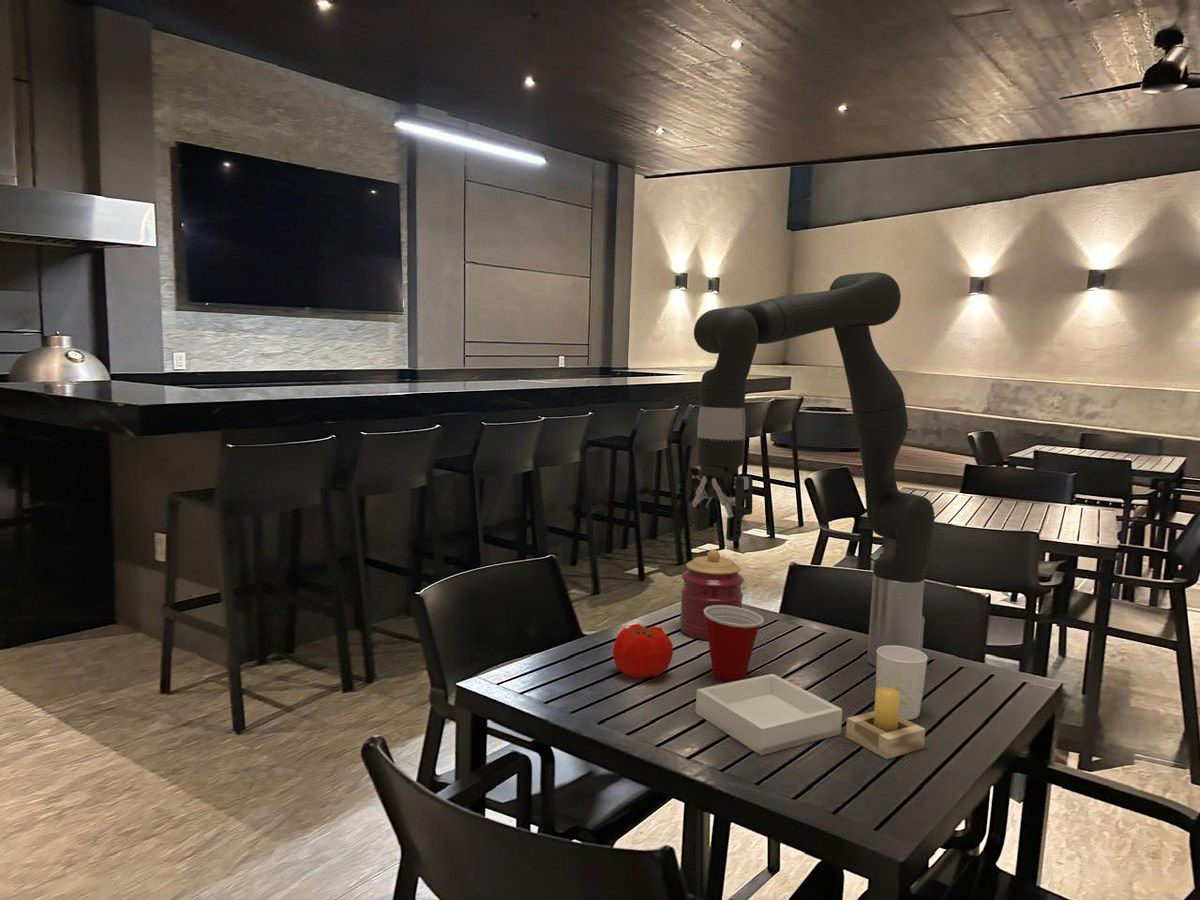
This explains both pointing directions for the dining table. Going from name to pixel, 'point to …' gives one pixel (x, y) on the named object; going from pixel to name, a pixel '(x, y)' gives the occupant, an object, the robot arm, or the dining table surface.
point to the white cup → (902, 676)
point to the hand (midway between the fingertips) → (716, 534)
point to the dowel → (886, 709)
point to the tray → (768, 713)
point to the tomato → (642, 651)
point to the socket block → (885, 736)
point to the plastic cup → (731, 640)
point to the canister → (708, 591)
